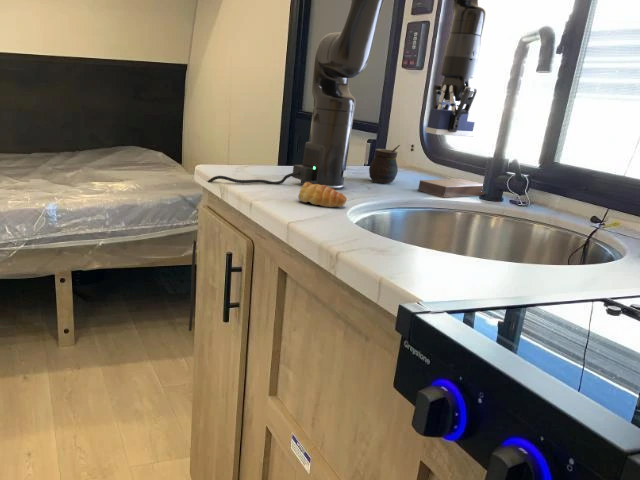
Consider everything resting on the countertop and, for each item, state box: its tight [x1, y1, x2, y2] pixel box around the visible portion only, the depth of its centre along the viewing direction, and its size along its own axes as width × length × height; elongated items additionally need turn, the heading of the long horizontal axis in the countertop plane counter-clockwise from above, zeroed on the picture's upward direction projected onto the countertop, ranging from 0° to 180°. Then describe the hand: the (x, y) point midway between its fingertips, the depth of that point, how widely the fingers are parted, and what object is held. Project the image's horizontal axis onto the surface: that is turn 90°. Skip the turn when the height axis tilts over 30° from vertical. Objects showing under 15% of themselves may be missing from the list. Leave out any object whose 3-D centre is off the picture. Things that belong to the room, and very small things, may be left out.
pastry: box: [297, 182, 348, 208], centre depth 121 cm, size 9×7×4 cm
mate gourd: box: [368, 144, 401, 184], centre depth 152 cm, size 7×8×10 cm
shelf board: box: [417, 178, 485, 198], centre depth 147 cm, size 16×8×2 cm, turn 122°
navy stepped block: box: [425, 108, 476, 137], centre depth 147 cm, size 11×4×6 cm, turn 108°
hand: (445, 130), depth 147 cm, fingers closed on navy stepped block, 4 cm apart
